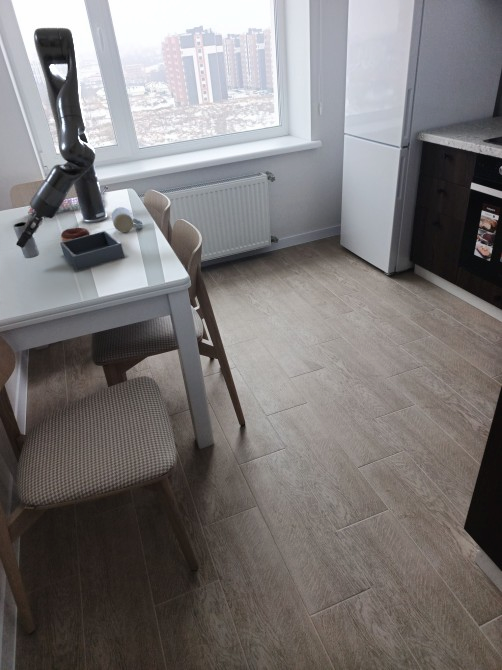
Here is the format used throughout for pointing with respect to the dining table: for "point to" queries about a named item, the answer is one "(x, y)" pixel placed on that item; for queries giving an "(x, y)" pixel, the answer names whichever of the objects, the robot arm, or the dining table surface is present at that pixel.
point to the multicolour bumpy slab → (64, 206)
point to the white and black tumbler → (30, 247)
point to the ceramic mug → (124, 220)
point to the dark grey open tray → (92, 250)
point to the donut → (74, 233)
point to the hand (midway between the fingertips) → (20, 243)
